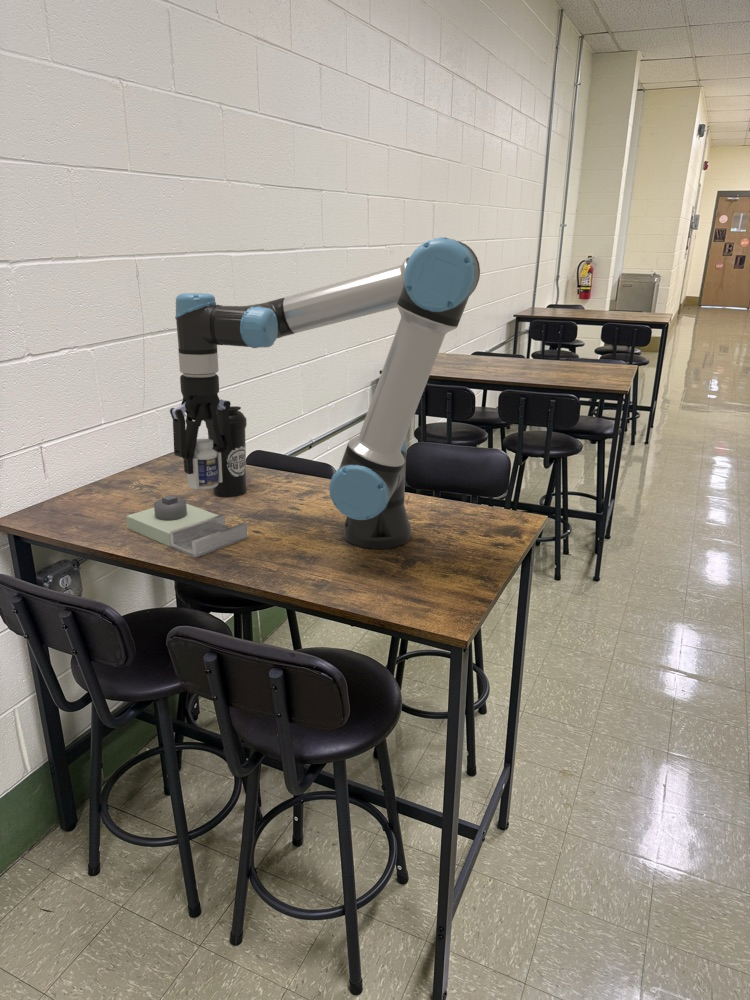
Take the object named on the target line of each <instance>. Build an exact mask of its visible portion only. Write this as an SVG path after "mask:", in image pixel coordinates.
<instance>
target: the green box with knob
mask: <svg viewBox="0 0 750 1000" xmlns="http://www.w3.org/2000/svg"><path fill="white" fill-rule="evenodd" d="M219 515H220V514H216V513H214V512H210V511H207V510H205V509H202V508H199V507H197V506H194V505H191V504H189V503H187V500H186V499H185V498H182V497H177V496H175V495H172V494H170V495H167V496H164V497H161V498H160V499H157V500H155V501H154V502H153V507H151V508H149V509H144V510H142V511H138V512H134V513H130V514H129V515H125V519H126V528H127V529H128V530H131V531H133V532H136V533H137V534H140V535H142V536H144V537H146V538H149V539H151V540H154V541H156V542H158V543H161V544H163V545H165V546H168V547H169V548H172V547H171V541H170V532H171V531H174V530H177V529H180V528H183V527H186V526H189V525H192V524H195V523H198V522H201V521H204V520H207V519H210V518H213V517H216V516H219Z"/></svg>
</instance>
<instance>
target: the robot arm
mask: <svg viewBox="0 0 750 1000" xmlns="http://www.w3.org/2000/svg"><path fill="white" fill-rule="evenodd" d="M480 277H481V267H480V262H479V259H478V256H477V255H476V253H475V252H474V250H473V249H472V248H471V247H470V246H468V245H467V244H466V243H464V242H462V241H459V240H456V239H453V238H448V237H434V238H432V239H428V240H427V241H424V242H423V243H422V244H420V245H419V246H418V247H416V249H415V250H414V251H413V252H412V253H411V255H410V256H409V257H406V258H404V260H403V262H402V264H401V265H397V266H394V267H389V268H387V269H386V268H385V269H383V270H378V271H375V272H371V273H369V274H365V275H361V276H357V277H354V278H350V279H345V280H343V281H339V282H336V283H331V284H329V285H325V286H320V287H317V288H314V289H311V290H307V291H303V292H299V293H296V294H291V295H289V296H285V297H282V298H278V299H274V300H270V301H266V302H262V303H255V304H249V305H238V306H237V305H222V304H221V305H220V304H217V302H216V298H215V296H214V295H213V294H212V293H203V292H202V293H201V292H198V293H197V292H185V293H180V294H178V295H177V296H176V298H175V316H174V318H175V321H176V323H175V324H176V333H177V335H176V336H177V344H178V346H177V347H178V364H179V365H178V366H179V372H180V373H182V374H181V375H180V376H179V381H180V383H179V384H180V392H181V395H182V400H181V403H180V404H181V405H179V406H177V407H176V408H174V407H171V408H170V409H169V413H170V415H171V418H172V432H173V433H172V434H173V452H174V453H173V454H174V456H176V457H179V458H182V459H183V470H184V473H185V474H186V476H187V477H186V478H187V487H188V488H191V489H194V490H200V489H199V476H198V459H197V458H194V453H195V447H196V442H197V439H198V435H199V429H200V427H201V426H202V421H203V422H204V423H205V427H206V426H207V428H206V430H207V434H208V433H209V436H210V439H211V440H213V449H214V450H215V451H216V452H217V463H218V482H219V483H221V482H222V466H223V464H224V455H223V452H226V451H227V447H230V446H231V434H230V420H229V410H230V407H231V401H229V400H227V399H220V397H219V394H218V393H220V378H219V376H218V374H217V373H218V372H219V358H218V357H219V355H218V353H219V352H218V346H231V347H232V346H233V347H244V348H252V349H258V348H270V347H272V346H273V345H274V343H275V342H276V341H277V340H278V339H281V338H283V337H287V336H291V335H294V334H297V333H302V332H305V331H310V330H314V329H317V328H321V327H326V326H331V325H333V324H337V323H341V322H345V321H349V320H354V319H356V318H362V317H365V316H368V315H372V314H377V313H380V312H385V311H388V310H393V309H396V308H397V309H398V311H399V314H400V320H399V323H398V325H397V328H396V331H395V334H394V337H393V340H392V343H391V345H390V348H389V350H388V353H387V356H386V360H385V363H384V365H383V368H382V371H381V373H380V376H379V379H378V382H377V383H376V387H375V390H374V392H373V395H372V398H371V400H370V405H369V406H368V410H367V412H366V415H365V418H364V421H363V423H362V426H361V428H360V431H359V434H358V435H356V436H354V437H352V438H350V439H349V441H348V443H347V446H346V448H345V451H344V453H343V456H342V459H341V463H340V465H339V468H338V469H337V470H336V471H334V473H333V474H332V477H331V479H330V483H329V488H328V489H329V490H328V491H329V497H330V500H331V501H332V503H333V505H334V506H335V508H336V510H338V512H340V513H341V514H342V515H344V516H345V517H346V519H345V523H344V525H343V538H344V539H345V541H346V542H348V543H350V544H352V545H354V546H357V547H361V548H364V549H375V550H376V549H377V550H378V549H379V550H384V549H392V548H396V547H397V546H398V547H400V545H401V546H402V544H403V545H405V544H406V542H407V541H408V540H409V539H410V540H411V538H410V537H412V527H411V524H410V521H409V517H408V513H407V508H406V506H405V493H406V492H405V491H406V489H405V488H406V464H407V454H408V451H407V442H406V441H405V440H406V438H407V435H408V432H409V430H410V428H411V424H412V422H413V419H414V417H415V414H416V412H417V409H418V407H419V404H420V402H421V399H422V396H423V393H424V391H425V389H426V386H427V383H428V381H429V378H430V376H431V373H432V370H433V368H434V366H435V363H436V359H437V358H438V355H439V352H440V350H441V346H442V344H443V342H444V339H445V337H446V334H448V333H449V332H452V331H453V330H456V329H457V328H458V326H459V324H460V321H461V320H462V319H461V318H462V316H463V314H464V311H465V308H466V306H467V303H468V301H469V298H470V296H471V295H472V294H473V293H474V292H475V290H476V289H477V286H478V284H479V281H480ZM216 409H217V415H216ZM185 417H186V418H185ZM217 421H218V423H217ZM410 540H409V541H410ZM409 541H408V542H409ZM408 542H407V543H408ZM404 543H405V544H404ZM398 547H397V548H398Z"/></svg>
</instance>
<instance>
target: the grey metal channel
mask: <svg viewBox="0 0 750 1000" xmlns="http://www.w3.org/2000/svg"><path fill="white" fill-rule="evenodd" d="M218 515H219V516H216V517H213V518H210V519H207V520H204V521H201V522H198V523H195V524H192V525H189V526H186V527H183V528H180V529H177V530H174V531H171V532H170V541H171V547H170V548H172V549H174V550H177V551H179V552H181V553H183V554H186V555H188V556H190V557H193V558H196V559H197V558H199V557H202V556H205V555H208V554H210V553H212V552H215V551H218V550H221V549H223V548H226V547H228V546H231V545H234V544H236V543H238V542H241V541H244V540H247V539H248V538H249V536H248V523H246V522H242V523H239V524H236V525H233V526H227V525H226V516H225V515H224V514H218Z"/></svg>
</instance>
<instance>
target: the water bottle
mask: <svg viewBox="0 0 750 1000" xmlns="http://www.w3.org/2000/svg"><path fill="white" fill-rule="evenodd" d="M241 409H242V407H241V406H239V405H238V406H231V405H230V410H229V420H230V434H231V446H230V447H227V451H226V452H223V455H224V464H223V466H222V482H221V483H219V482H218V485H217V486H216V487H214V488H212V491H213V495H214V496H216V497H220V498H236V497H240V496H244V495H245V494H246V493H247V466H246V465H247V460H246V459H247V458H246V457H247V449H246V448H247V447H246V428H247V417H245V414H244V413H243V412H241ZM216 415H217V409H216ZM217 423H218V421H217ZM205 427H206V429H207V426H206V425H205ZM207 437H208V438H207V439H210V436H209V433H208V432H207ZM212 449H213V448H212ZM213 450H214V449H213Z"/></svg>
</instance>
